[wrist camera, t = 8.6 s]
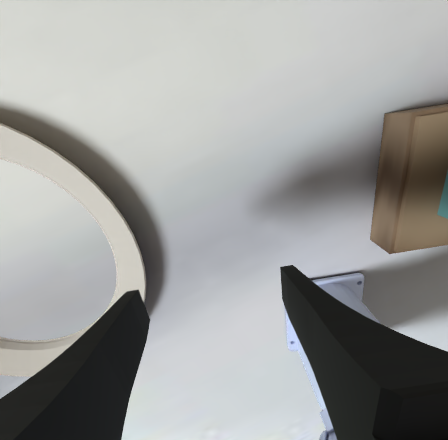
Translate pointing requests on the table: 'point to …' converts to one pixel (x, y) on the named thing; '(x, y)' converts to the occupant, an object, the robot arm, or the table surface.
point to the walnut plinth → (411, 180)
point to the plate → (103, 214)
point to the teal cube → (444, 200)
